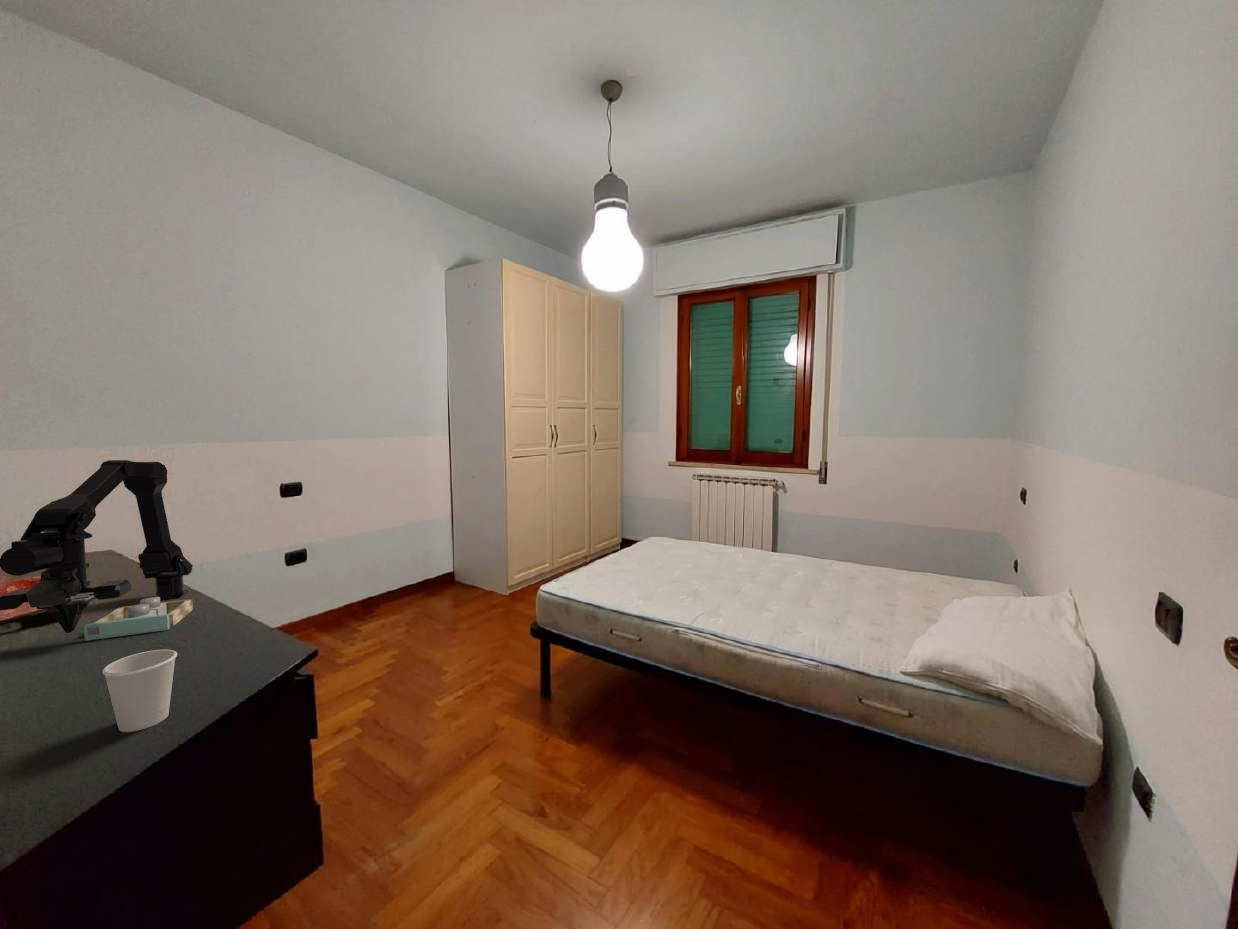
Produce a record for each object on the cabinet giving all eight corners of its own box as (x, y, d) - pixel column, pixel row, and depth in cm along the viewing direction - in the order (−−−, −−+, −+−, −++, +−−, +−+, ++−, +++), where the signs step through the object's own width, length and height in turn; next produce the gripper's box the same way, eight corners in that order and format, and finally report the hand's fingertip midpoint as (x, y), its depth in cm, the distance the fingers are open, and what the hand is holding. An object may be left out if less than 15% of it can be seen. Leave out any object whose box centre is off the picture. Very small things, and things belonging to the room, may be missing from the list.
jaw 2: (143, 617, 117) (142, 597, 117) (166, 614, 119) (165, 595, 119) (134, 623, 113) (133, 603, 113) (158, 620, 115) (157, 600, 115)
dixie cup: (193, 705, 79) (191, 648, 78) (145, 737, 70) (141, 673, 70) (143, 706, 78) (140, 649, 78) (88, 738, 70) (84, 674, 70)
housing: (120, 618, 116) (120, 607, 116) (193, 610, 122) (192, 599, 122) (92, 637, 105) (91, 624, 105) (173, 626, 111) (172, 614, 111)
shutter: (87, 639, 104) (86, 623, 104) (169, 628, 110) (168, 613, 110) (83, 641, 102) (82, 626, 102) (167, 630, 109) (166, 615, 108)
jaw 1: (121, 632, 108) (120, 611, 108) (131, 625, 112) (130, 604, 112) (147, 628, 110) (146, 608, 110) (156, 621, 114) (155, 602, 114)
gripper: (-29, 578, 90) (-24, 656, 91) (104, 566, 98) (108, 638, 99) (13, 564, 100) (17, 634, 101) (130, 555, 108) (134, 620, 109)
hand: (69, 632), depth 102 cm, fingers closed
